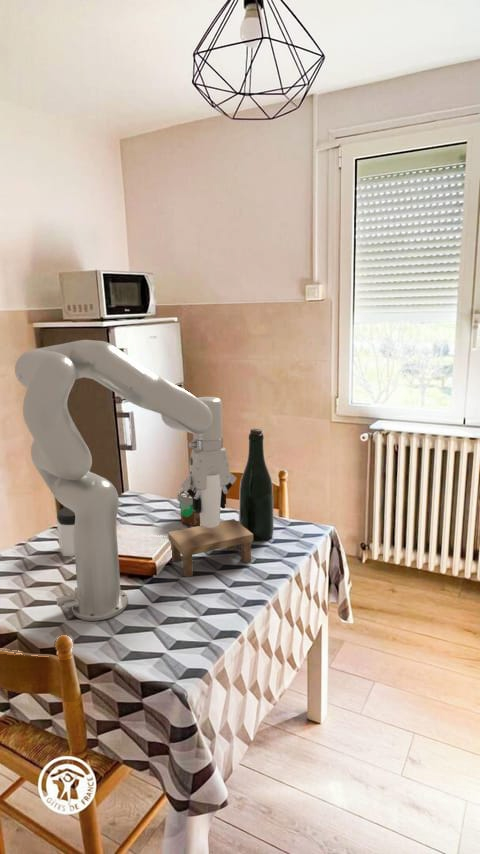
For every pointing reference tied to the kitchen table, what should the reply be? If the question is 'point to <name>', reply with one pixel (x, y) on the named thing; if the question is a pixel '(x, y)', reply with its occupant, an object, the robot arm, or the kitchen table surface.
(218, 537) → the footstool
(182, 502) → the food container
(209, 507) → the drinking glass
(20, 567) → the kitchen table surface
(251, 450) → the dark green wine bottle
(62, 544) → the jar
